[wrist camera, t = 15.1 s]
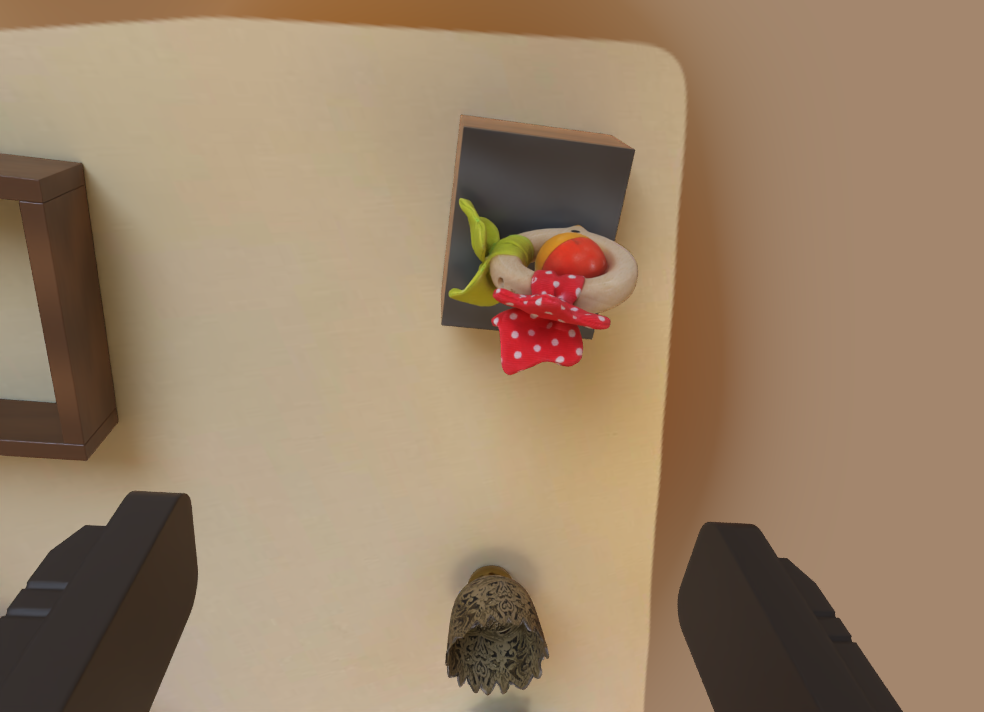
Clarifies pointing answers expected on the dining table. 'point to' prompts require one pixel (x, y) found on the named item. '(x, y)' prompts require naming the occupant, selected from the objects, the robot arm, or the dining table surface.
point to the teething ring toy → (545, 288)
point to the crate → (60, 315)
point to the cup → (494, 634)
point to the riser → (527, 195)
